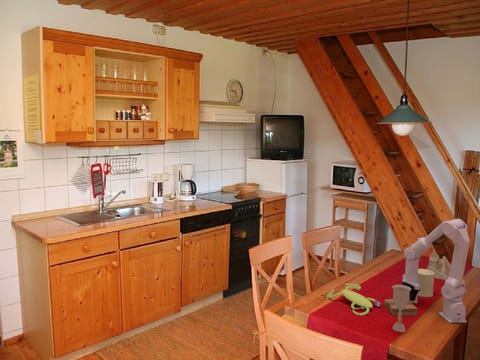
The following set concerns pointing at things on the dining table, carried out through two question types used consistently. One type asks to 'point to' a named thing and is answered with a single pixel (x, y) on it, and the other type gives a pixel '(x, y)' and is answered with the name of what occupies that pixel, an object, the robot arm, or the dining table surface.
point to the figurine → (355, 298)
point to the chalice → (400, 303)
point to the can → (425, 282)
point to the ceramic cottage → (439, 266)
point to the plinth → (391, 306)
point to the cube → (415, 299)
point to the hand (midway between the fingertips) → (409, 298)
